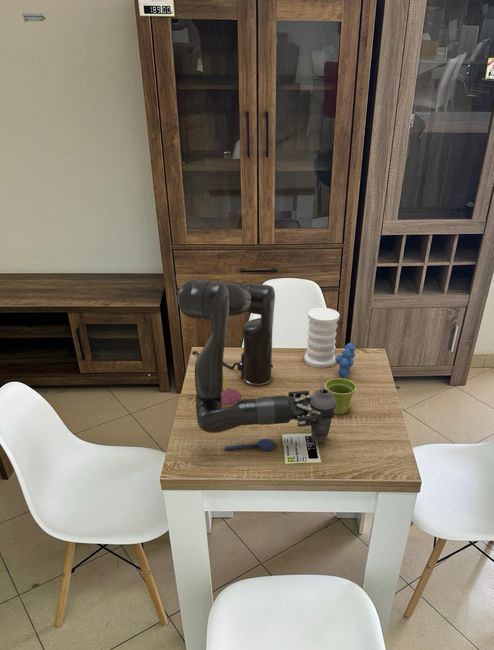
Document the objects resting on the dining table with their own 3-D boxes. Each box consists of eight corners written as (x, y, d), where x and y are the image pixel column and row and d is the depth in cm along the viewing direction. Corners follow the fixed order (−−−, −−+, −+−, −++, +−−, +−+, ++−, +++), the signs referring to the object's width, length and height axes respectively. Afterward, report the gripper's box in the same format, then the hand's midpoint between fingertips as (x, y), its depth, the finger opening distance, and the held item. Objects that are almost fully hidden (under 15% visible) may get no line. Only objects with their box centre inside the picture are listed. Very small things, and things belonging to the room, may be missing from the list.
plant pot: (351, 419, 165) (354, 395, 161) (320, 415, 167) (323, 391, 162) (354, 403, 173) (357, 380, 168) (325, 399, 174) (327, 376, 170)
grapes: (338, 366, 194) (341, 335, 187) (356, 370, 192) (360, 339, 185) (328, 381, 184) (331, 349, 178) (347, 385, 182) (351, 353, 176)
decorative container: (302, 352, 201) (305, 307, 191) (333, 352, 202) (337, 307, 192) (305, 367, 191) (308, 320, 182) (338, 367, 192) (343, 320, 183)
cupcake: (208, 410, 166) (206, 376, 160) (229, 400, 172) (228, 367, 165) (227, 422, 162) (226, 387, 155) (247, 411, 167) (248, 377, 160)
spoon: (225, 454, 149) (225, 451, 148) (223, 444, 152) (223, 442, 152) (275, 449, 151) (275, 447, 151) (272, 440, 155) (272, 437, 154)
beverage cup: (324, 448, 151) (331, 386, 140) (301, 438, 154) (306, 378, 143) (336, 435, 156) (343, 375, 145) (314, 427, 159) (320, 367, 148)
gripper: (276, 413, 139) (338, 408, 142) (267, 384, 150) (324, 381, 154) (275, 437, 143) (335, 432, 146) (266, 407, 154) (321, 403, 158)
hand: (329, 406), depth 150 cm, fingers closed on beverage cup, 7 cm apart
